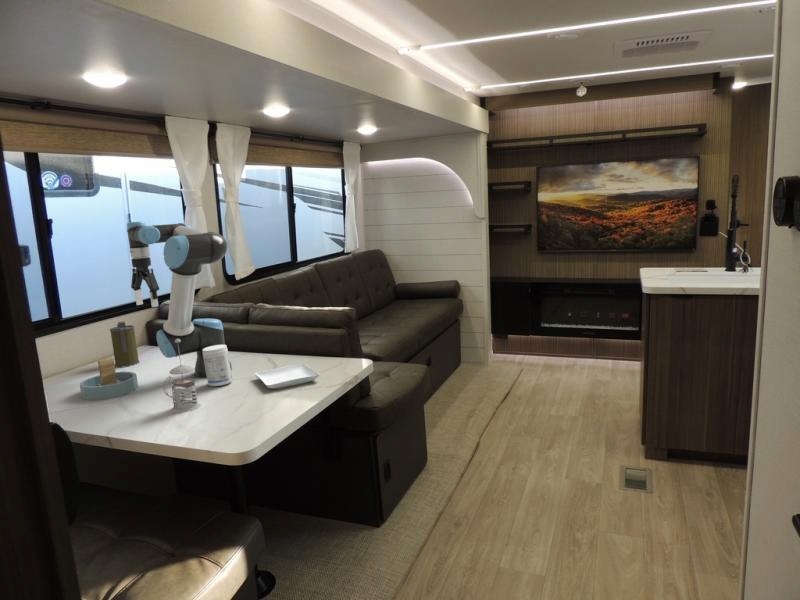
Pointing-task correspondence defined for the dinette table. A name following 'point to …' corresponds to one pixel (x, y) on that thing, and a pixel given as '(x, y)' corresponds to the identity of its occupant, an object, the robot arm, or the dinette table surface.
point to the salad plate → (287, 376)
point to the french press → (187, 385)
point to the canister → (124, 345)
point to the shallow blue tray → (108, 386)
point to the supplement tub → (217, 365)
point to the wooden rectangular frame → (107, 371)
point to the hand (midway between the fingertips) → (147, 305)
